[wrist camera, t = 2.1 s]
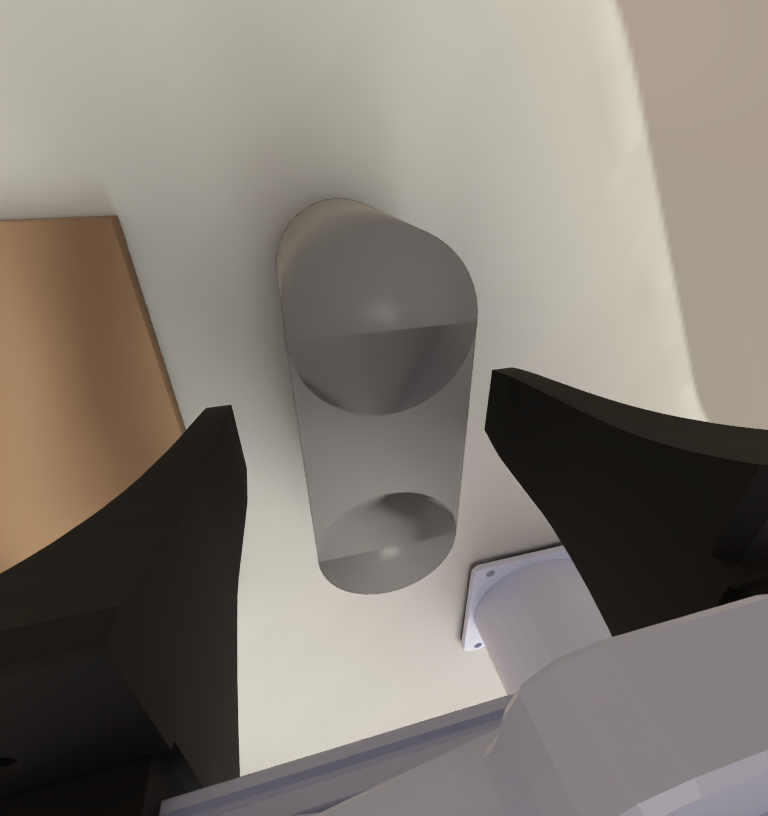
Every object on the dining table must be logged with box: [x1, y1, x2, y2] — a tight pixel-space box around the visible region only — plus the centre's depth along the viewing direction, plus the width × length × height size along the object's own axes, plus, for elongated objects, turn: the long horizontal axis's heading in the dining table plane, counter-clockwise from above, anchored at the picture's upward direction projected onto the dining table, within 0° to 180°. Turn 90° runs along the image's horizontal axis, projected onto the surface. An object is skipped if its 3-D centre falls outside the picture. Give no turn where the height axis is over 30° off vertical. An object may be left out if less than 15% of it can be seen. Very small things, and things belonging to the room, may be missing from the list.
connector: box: [277, 198, 478, 594], centre depth 13 cm, size 4×12×6 cm, turn 2°
